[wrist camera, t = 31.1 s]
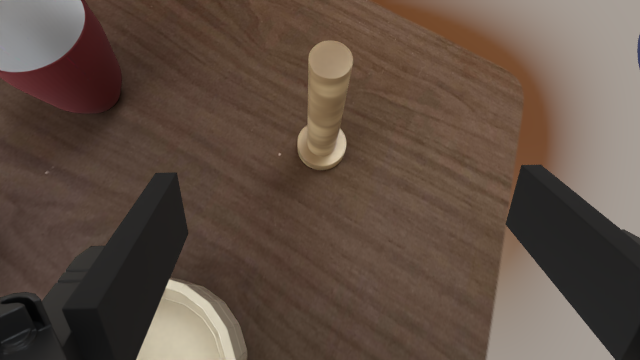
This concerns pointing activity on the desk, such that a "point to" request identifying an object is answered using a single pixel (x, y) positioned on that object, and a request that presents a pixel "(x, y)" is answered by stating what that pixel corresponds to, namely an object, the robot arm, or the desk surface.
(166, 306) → the bowl
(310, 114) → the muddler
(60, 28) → the mug
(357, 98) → the desk surface
